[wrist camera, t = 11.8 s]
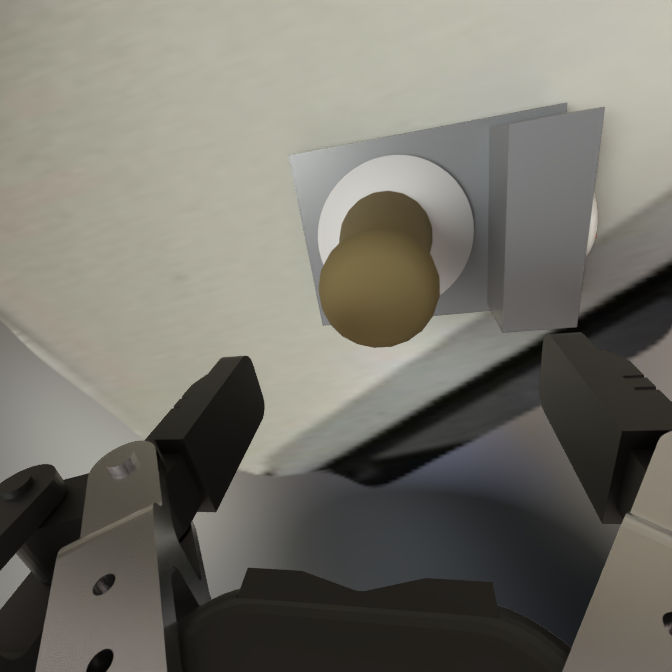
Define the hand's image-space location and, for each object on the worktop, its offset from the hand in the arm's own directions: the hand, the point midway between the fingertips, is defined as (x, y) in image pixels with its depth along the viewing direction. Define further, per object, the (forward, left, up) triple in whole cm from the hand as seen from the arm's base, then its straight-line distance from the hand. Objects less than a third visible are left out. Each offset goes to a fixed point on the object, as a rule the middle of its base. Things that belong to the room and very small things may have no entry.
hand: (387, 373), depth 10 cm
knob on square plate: (-2, 0, -19) cm, 19 cm away
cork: (+1, 0, -16) cm, 16 cm away
